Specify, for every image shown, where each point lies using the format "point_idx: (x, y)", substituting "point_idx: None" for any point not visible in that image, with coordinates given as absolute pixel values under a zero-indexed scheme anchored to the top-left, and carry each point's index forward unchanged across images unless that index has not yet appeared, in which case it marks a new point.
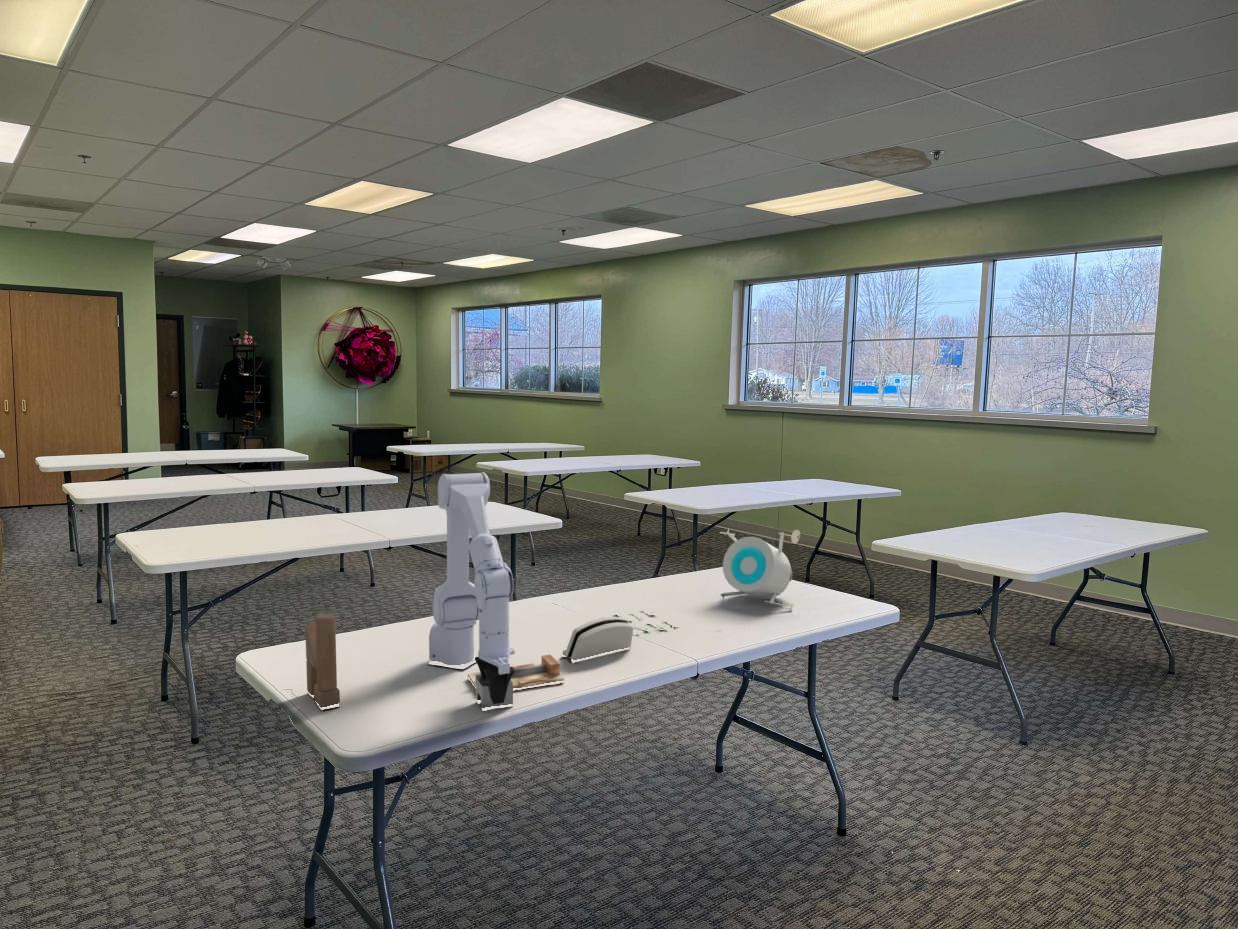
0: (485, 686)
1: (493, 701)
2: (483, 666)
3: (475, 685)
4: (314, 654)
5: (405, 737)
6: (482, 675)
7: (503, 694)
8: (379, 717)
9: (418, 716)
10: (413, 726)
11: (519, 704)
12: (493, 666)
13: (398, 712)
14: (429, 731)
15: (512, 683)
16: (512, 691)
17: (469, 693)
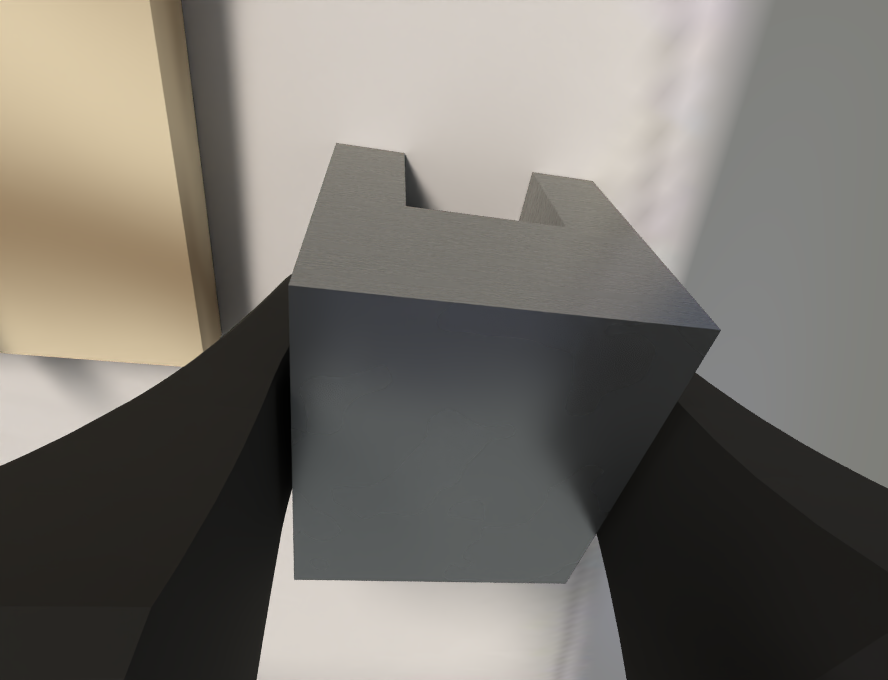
0: (573, 563)
1: None
2: (247, 671)
3: (28, 350)
4: None
5: (545, 643)
6: (276, 545)
7: None
8: (316, 673)
9: (379, 604)
10: (470, 623)
11: (583, 89)
12: (245, 565)
13: (295, 639)
14: (557, 597)
15: (705, 321)
16: (657, 261)
17: (119, 373)
